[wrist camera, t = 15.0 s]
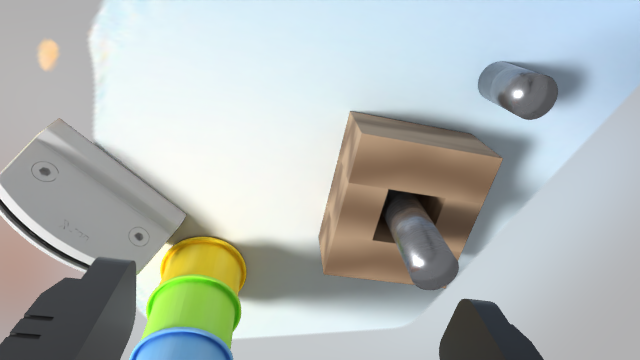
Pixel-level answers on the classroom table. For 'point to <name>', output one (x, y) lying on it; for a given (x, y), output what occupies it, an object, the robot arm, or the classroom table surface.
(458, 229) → the bore block
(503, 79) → the short pin
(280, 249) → the classroom table surface
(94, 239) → the grey curved housing
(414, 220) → the long pin
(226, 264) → the stacking cups
